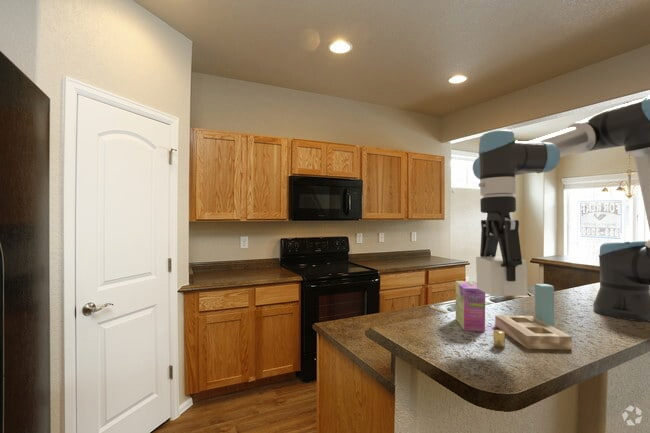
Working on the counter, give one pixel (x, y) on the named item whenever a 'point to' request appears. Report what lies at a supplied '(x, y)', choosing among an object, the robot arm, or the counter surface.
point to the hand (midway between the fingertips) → (499, 290)
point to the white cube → (498, 276)
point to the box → (470, 306)
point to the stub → (499, 339)
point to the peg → (544, 303)
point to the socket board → (533, 332)
